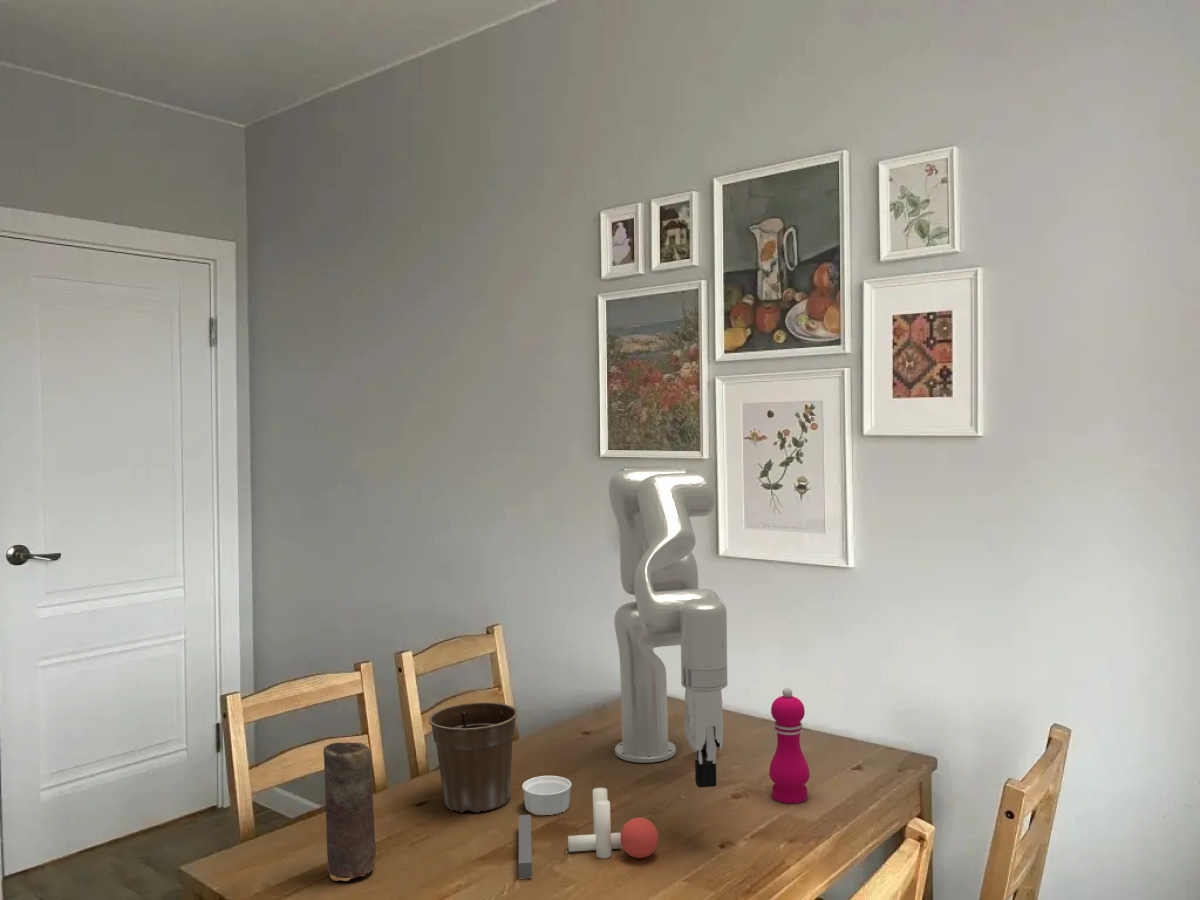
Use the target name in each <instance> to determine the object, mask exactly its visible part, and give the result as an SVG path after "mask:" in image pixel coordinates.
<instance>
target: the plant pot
mask: <svg viewBox="0 0 1200 900" xmlns="http://www.w3.org/2000/svg"><path fill="white" fill-rule="evenodd" d="M517 717H518V709H517V708H515V707H514V706H511V705H508V704H505V703H500V702H489V701H488V702H487V701H486V702H481V701H480V702H469V703H461V704H455V705H451V706H446V707H443V708H441V709H439V710H437V711H435V712H433V713H431V715H430V716H429V717H428V722H429V724H430V726H431V729H432V735H433V736H432V737H433V741H434V743H435V745H436V750H437V751H436V753H437V759H438V767H439V774H440V781H441V782H440V783H441V789H442V797H443V804H444V805H446V806H447V807H449V808H451V809H453V810H457V811H462V812H461V813H465V812H466V811H471V812H473V813H474V812H476V813H481V812H480V811H484V812H488V811H487V810H490V811H493V810H495V808H496V809H498V808H500V807H502V806H504V805H505V804H507V803H508V802H509V799H510V798H511V781H512V780H511V779H512V760H513V759H512V755H513V754H512V753H513V739H514V738H513V737H515V732H516V731H515V727H516V718H517ZM446 806H445V807H446ZM447 807H446V808H447ZM449 808H448V809H449ZM451 809H450V810H451ZM492 809H493V810H492ZM453 810H452V811H453ZM457 811H456V812H457ZM464 811H465V812H464Z"/></svg>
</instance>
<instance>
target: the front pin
mask: <svg viewBox="0 0 1200 900" xmlns="http://www.w3.org/2000/svg"><path fill="white" fill-rule="evenodd" d="M620 837H621V832H611V850H615V849H617V850H619V849H622V848H623V847H622V844H621V838H620ZM567 844H568V846H567V847H568V853H574V852H589V851H590V850H591V851H596V834H594V833H593V834H579V835H577V834H576V835H568V836H567Z"/></svg>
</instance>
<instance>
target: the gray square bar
mask: <svg viewBox="0 0 1200 900" xmlns="http://www.w3.org/2000/svg"><path fill="white" fill-rule="evenodd" d="M531 843H532V814H521V815H520V814H519V815H518V879H519V878H530V877H532V878H533V859H532V858H533V857H532V855H533V851H532V850H533V847H532V846H533V845H532V844H533V843H532V844H531Z"/></svg>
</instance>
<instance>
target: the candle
mask: <svg viewBox="0 0 1200 900" xmlns="http://www.w3.org/2000/svg"><path fill="white" fill-rule="evenodd" d="M371 752H372V750H371V748H370V747H368V746H367V745H366V744H365V743H362V742H333V743H329V744H327V745H326V746H324V747H323V762H324V763H323V765H324V768H323V769H324V791H325V792H324V795H325V796H324V797H325V819H326V820H325V821H326V855H327V857H326V858H327V873H328V872H329V873H330V874H331V875H333V876H336V877H340V878H353V877H358V876H361V875H365V874H367V873H368V872H370V871H371V872H372V870H373V869H374V868H375V866H376V863H377V855H376V854H377V853H376V852H377V851H376V849H377V848H376V835H375V834H376V833H375V832H376V831H375V815H374V814H375V813H374V796H373V794H374V793H373V791H374V790H373V774H372V753H371ZM371 872H370V873H371ZM368 874H369V873H368ZM368 874H367V875H368ZM365 876H366V875H365ZM358 878H359V877H358Z"/></svg>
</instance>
